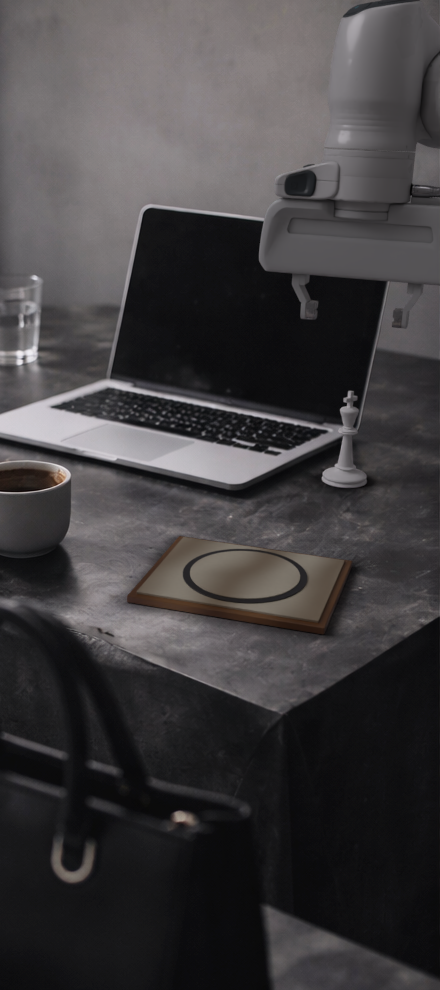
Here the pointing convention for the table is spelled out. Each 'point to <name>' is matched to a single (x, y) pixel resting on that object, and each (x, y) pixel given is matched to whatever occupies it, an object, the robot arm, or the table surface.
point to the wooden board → (245, 584)
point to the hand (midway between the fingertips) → (353, 323)
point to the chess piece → (346, 452)
